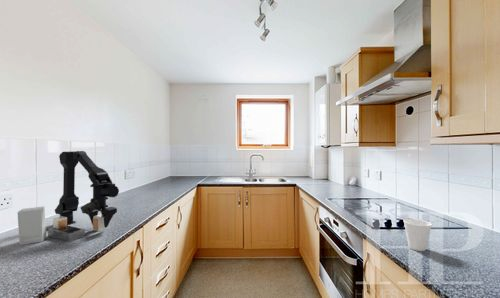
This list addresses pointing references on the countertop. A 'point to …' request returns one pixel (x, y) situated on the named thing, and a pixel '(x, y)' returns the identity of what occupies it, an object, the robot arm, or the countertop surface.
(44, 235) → the skincare box
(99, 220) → the pale upright block
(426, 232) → the cup
